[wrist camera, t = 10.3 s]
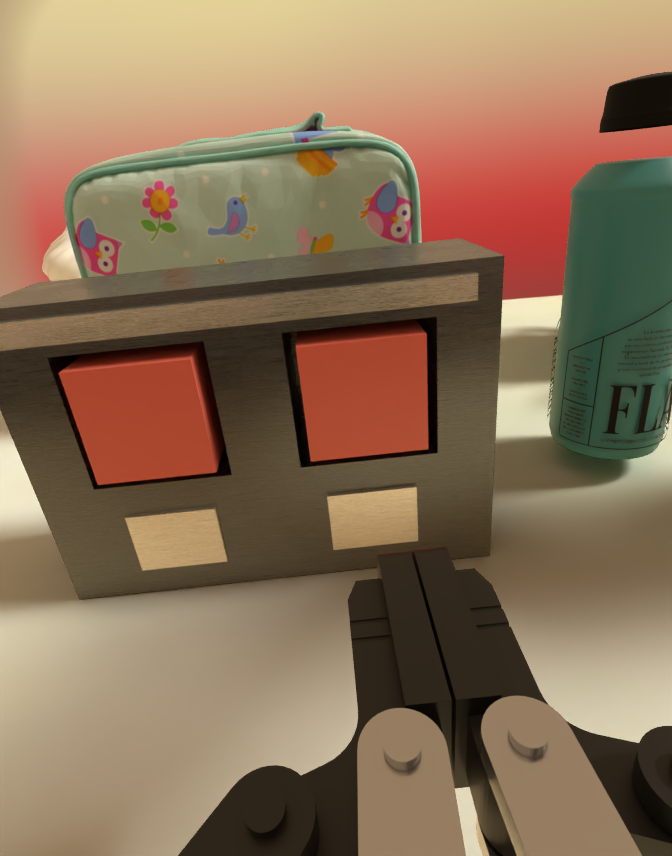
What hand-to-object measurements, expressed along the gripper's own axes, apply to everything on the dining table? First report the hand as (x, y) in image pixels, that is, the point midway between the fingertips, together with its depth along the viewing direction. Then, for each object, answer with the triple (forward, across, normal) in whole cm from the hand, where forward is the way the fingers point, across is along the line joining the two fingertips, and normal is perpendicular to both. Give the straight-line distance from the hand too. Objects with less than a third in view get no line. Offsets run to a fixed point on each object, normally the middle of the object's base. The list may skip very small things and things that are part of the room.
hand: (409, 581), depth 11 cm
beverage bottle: (+19, -15, +9) cm, 26 cm away
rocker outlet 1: (+13, +9, +3) cm, 16 cm away
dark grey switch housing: (+14, +4, +9) cm, 17 cm away
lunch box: (+35, +6, +9) cm, 36 cm away
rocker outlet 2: (+13, 0, +3) cm, 13 cm away
